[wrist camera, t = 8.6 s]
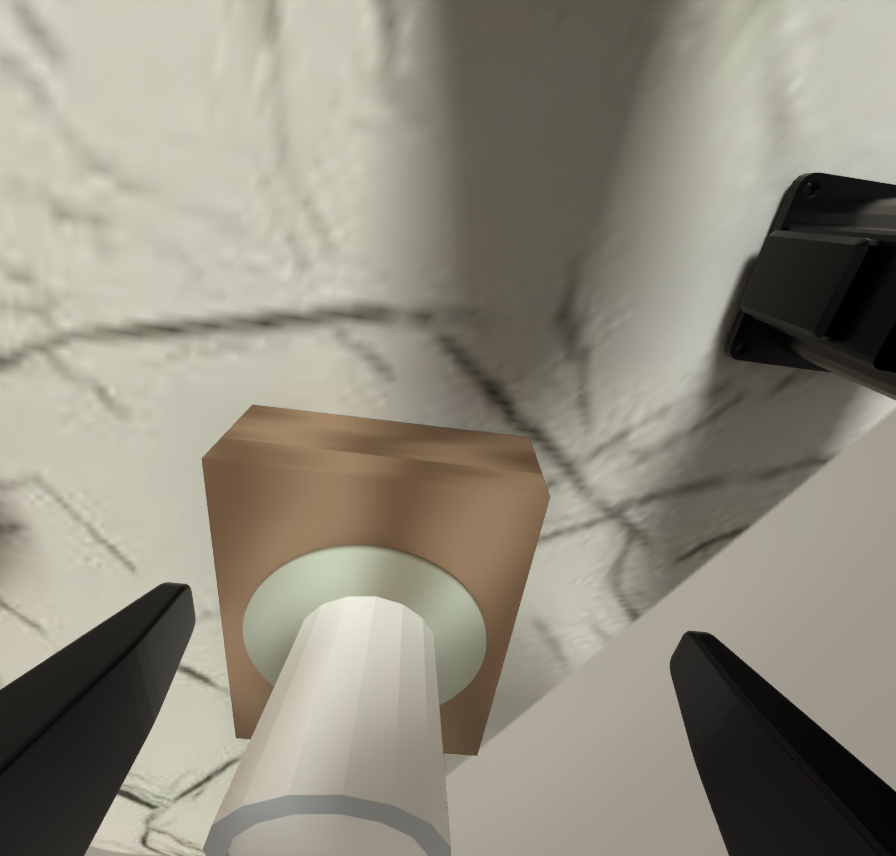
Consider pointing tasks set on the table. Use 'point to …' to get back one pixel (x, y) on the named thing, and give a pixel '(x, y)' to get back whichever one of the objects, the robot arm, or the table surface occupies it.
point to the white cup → (345, 744)
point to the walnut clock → (371, 544)
